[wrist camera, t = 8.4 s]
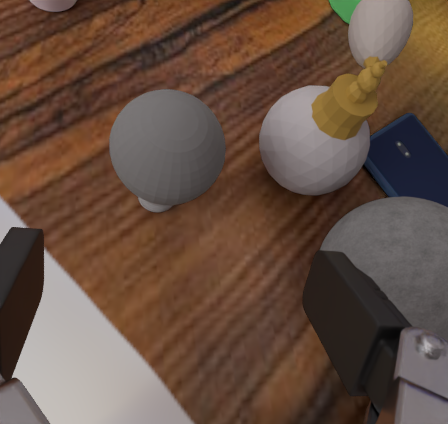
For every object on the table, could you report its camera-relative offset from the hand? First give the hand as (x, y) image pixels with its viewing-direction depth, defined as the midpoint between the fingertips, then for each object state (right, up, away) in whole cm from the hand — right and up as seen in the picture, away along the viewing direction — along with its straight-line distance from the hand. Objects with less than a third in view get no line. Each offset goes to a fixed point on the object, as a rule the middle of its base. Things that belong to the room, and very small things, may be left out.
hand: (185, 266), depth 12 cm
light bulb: (-3, +3, +16) cm, 16 cm away
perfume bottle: (+6, +6, +20) cm, 22 cm away
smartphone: (+23, -4, +20) cm, 31 cm away
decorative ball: (+10, -4, +17) cm, 20 cm away
